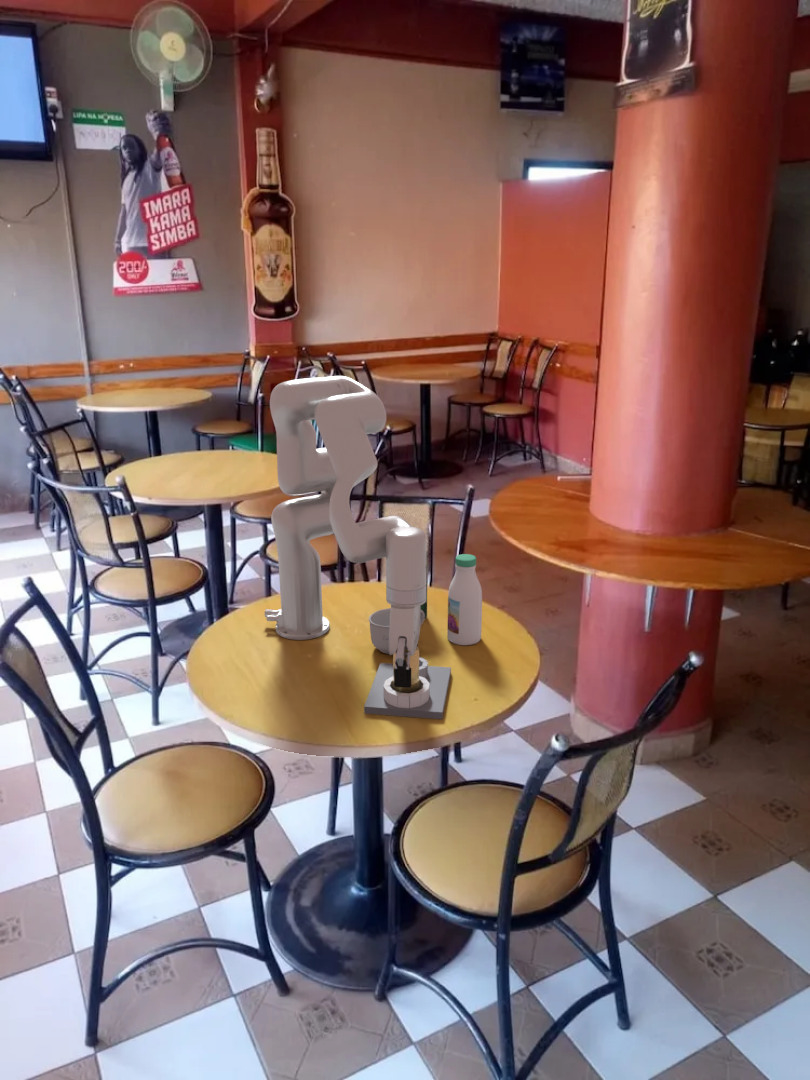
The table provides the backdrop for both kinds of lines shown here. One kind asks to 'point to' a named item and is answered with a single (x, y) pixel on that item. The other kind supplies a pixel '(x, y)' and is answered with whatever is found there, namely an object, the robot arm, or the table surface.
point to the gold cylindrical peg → (414, 673)
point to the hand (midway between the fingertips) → (406, 674)
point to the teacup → (383, 628)
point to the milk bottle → (465, 603)
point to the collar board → (419, 712)
